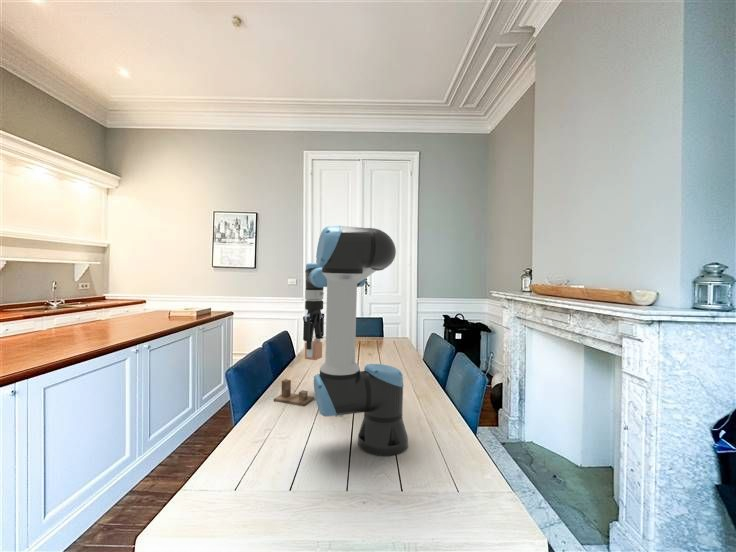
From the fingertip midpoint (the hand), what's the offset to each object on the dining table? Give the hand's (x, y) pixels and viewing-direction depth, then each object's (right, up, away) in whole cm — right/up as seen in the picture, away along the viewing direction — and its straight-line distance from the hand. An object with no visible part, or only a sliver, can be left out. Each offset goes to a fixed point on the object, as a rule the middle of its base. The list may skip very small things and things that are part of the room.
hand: (313, 355), depth 144 cm
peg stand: (-7, -17, -6) cm, 19 cm away
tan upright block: (0, -1, 0) cm, 1 cm away
